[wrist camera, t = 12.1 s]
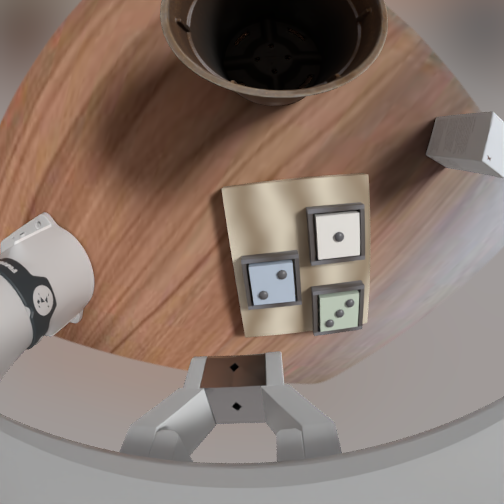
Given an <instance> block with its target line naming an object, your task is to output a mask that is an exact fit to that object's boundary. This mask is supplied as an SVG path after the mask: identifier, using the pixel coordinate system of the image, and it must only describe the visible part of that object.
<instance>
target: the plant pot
mask: <svg viewBox="0 0 504 504" xmlns="http://www.w3.org/2000/svg"><path fill="white" fill-rule="evenodd" d="M160 19H161V25H162V30H163V33H164V36H165V38H166V40H167V42H168V44H169V46H170V48H171V49H172V51H173V52H174V54H175V55H176V56H177V57H178V59H179V60H180V61H181V62H182V63H183V64H184V65H186V66H187V67H188V68H189V69H191V70H192V71H193V72H195V73H196V74H197V75H199V76H201V77H202V78H204V79H206V80H208V81H209V82H211V83H214V84H216V85H218V86H221V87H223V88H226V89H228V90H231V91H234V92H237V93H238V94H239V95H240V96H242V97H244V98H245V99H247V100H249V101H252V102H254V103H257V104H261V105H267V106H279V105H286V104H291V103H294V102H296V101H299V100H301V99H302V98H304V97H305V96H310V95H315V94H319V93H323V92H327V91H330V90H333V89H335V88H338V87H340V86H342V85H344V84H346V83H348V82H350V81H352V80H353V79H355V78H356V77H358V76H359V75H361V74H362V73H363V72H364V71H365V70H367V69H368V67H369V66H370V65H371V64H372V63H373V62H374V61H375V59H376V58H377V57H378V55H379V53H380V52H381V50H382V48H383V45H384V42H385V39H386V36H387V29H388V15H387V9H386V4H385V1H384V0H162V2H161V10H160ZM288 29H293V30H295V31H297V32H298V33H299V34H301V35H302V36H303V37H304V38H305V39H306V40H305V41H304V40H301V39H300V38H299V37H298V36H297V35H295V34H292V33H291V32H289V31H288ZM245 32H249V34H248V35H247V36H245V38H244V39H243V40H242V41H240V42H239V44H238V45H237V46H235V44H234V43H235V42H236V40H237V39H238V38H239V37H240V36H241V35H242V34H243V33H245ZM269 44H273V45H274V47H273V48H270V47H268V45H269ZM286 55H289V56H290V57H291V58H290V59H289V60H288V59H285V56H286ZM256 57H259V58H260V61H258V62H257V61H255V58H256ZM272 69H276V70H277V73H276V74H274V73H272ZM308 75H312V77H313V78H312V80H311V81H310V82H309V84H307V85H306V86H305V87H304V88H303V89H298V88H299V86H300V85H301V84H302V83H303V82H304V81H305V80H306V78H307V77H308ZM239 81H241V82H243V83H244V84H245V85H247V86H248V87H247V86H243V85H240V84H239V83H238V82H239Z"/></svg>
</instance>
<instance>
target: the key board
mask: <svg viewBox="0 0 504 504" xmlns="http://www.w3.org/2000/svg"><path fill="white" fill-rule="evenodd" d="M222 196H223V203H224V209H225V216H226V223H227V229H228V235H229V242H230V248H231V255H232V261H233V267H234V273H235V279H236V285H237V291H238V297H239V303H240V309H241V315H242V321H243V327H244V333H245V337H256V336H268V335H279V334H288V333H298V332H306V331H313V333H314V336H317V335H325V334H332V333H339V332H346V331H352V330H359V329H362V324H363V323H367V317H368V303H369V284H370V196H369V178H368V174H364V173H358V174H342V175H328V176H315V177H304V178H293V179H283V180H273V181H264V182H256V183H248V184H240V185H232V186H225V187H223V188H222ZM346 210H356V211H357V212H359V221H360V255H356V256H347V257H339V258H330V259H321V260H318V258H317V256H316V247H315V231H314V217H313V214H314V213H325V212H335V211H346ZM287 259H292V263H293V275H294V288H295V301H292V302H283V303H273V304H263V305H254V302H253V295H252V288H251V281H250V274H249V264H250V263H259V262H269V261H278V260H287ZM352 290H358V292H359V310H358V327H351V328H345V329H338V330H331V331H323V332H320V328H319V324H318V295H321V294H329V293H337V292H345V291H352Z"/></svg>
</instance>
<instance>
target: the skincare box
mask: <svg viewBox="0 0 504 504" xmlns="http://www.w3.org/2000/svg"><path fill="white" fill-rule="evenodd" d="M426 156H428V157H430V158H431V159H433V160H435V161H436V162H438V163H440V164H441V165H443V166H445V167H446V168H451V169H457V170H463V171H469V172H474V173H480V174H485V175H490V176H495V177H499V178H504V122H503V121H502V120H501V119H500V118H499V117H498V116H497V115H496V114H495V113H494V112H483V113H471V114H460V115H451V116H442V117H436V120H435V124H434V127H433V131H432V135H431V138H430V142H429V145H428V149H427V152H426Z"/></svg>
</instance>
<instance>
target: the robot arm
mask: <svg viewBox="0 0 504 504" xmlns="http://www.w3.org/2000/svg"><path fill="white" fill-rule="evenodd" d="M40 223H41V224H40ZM93 291H94V275H93V270H92V266H91V263H90V260H89V258H88V256H87V254H86V252H85V250H84V249H83V247H82V246H81V244H80V243H79V242H78V240H77V239H76V238H75V237H74V236H73V235H72V234H70V233H69V232H68V231H66V230H64V229H63V228H61V227H60V226H58V225H57V224H56V222H55V221H54V220H53V218H52V217H51V216H50V215H49V214H48V213H46V212H44V213H42V214H40V215H39V216H37V217H36V218H34V219H33V220H31V221H30V222H28V223H27V224H25V225H24V226H22V227H21V228H19V229H18V230H16V231H15V232H14V233H12V234H11V235H9V236H8V237H7V238H5V239H4V240H3V241H2V242H1V254H0V381H1V380H2V378H3V376H4V375H5V374H6V372H7V371H8V370H9V369H10V367H11V366H12V365H13V363H14V362H15V361H16V360H17V359H18V357H19V356H20V355H21V354H22V353H23V352H24V351H25V350H26V349H30V348H32V347H33V346H34V345H36V344H37V343H38V342H39V341H40V340H41V339H42V337H43V336H44V335H45V336H50V337H51V336H53V335H55V334H56V333H57V332H58V331H59V330H61V329H62V328H63V327H64V326H65V325H67V324H68V323H69V322H72V323H78V322H79V321H80V320H81V319H82V315H83V309H84V307H85V306H86V305H87V304H88V302H89V301H90V299H91V297H92V295H93ZM262 422H266V423H267V425H268V426H269V427H270V428H271V430H272V431H273V432H274V433H275V435H276V440H277V462H266V463H200V462H193V461H192V459H191V457H190V455H191V454H192V453H193V451H194V450H195V449H196V448H197V447H198V446H199V445H200V443H201V442H202V441H203V440H204V439H205V438H206V436H207V435H208V434H209V433H210V432H211V431H212V429H213V428H214V427H215V426H216V424H230V423H262ZM0 504H504V397H502V398H500V399H498V400H496V401H495V402H493V403H491V404H489V405H487V406H485V407H483V408H481V409H478V410H476V411H474V412H472V413H470V414H468V415H465V416H463V417H461V418H458V419H456V420H454V421H451V422H449V423H446V424H444V425H441V426H439V427H436V428H433V429H430V430H428V431H425V432H422V433H419V434H416V435H413V436H410V437H406V438H403V439H400V440H396V441H393V442H389V443H386V444H382V445H378V446H374V447H370V448H365V449H361V450H356V451H352V452H346V453H342V452H341V447H340V443H339V438H338V434H337V430H336V425H335V422H334V421H333V420H331V419H330V418H329V417H328V416H327V415H325V414H324V413H323V412H322V411H320V410H319V409H318V408H317V407H316V406H314V405H313V404H312V403H311V402H309V401H308V400H307V399H306V398H305V397H304V396H302V395H301V394H300V393H299V392H298V391H296V390H295V389H294V388H293V387H292V386H291V385H290V384H284V376H283V366H282V355H281V352H280V351H278V352H270V353H264V354H252V355H238V356H208V357H207V356H200V357H193V358H192V360H191V363H190V366H189V370H188V373H187V377H186V380H185V383H184V387H183V388H179V389H178V390H176V391H175V392H174V393H172V394H171V395H170V396H168V397H167V398H166V399H165V400H163V401H162V402H161V403H159V404H158V405H157V406H156V407H154V408H153V409H151V410H150V411H149V412H147V413H146V414H145V415H143V416H142V417H141V418H139V419H138V420H137V421H135V422H134V423H132V424H131V425H130V427H129V430H128V432H127V435H126V437H125V440H124V442H123V445H122V447H121V450H120V452H115V451H110V450H106V449H101V448H97V447H93V446H89V445H85V444H82V443H78V442H74V441H71V440H68V439H64V438H61V437H58V436H55V435H52V434H49V433H46V432H44V431H41V430H38V429H35V428H33V427H30V426H28V425H25V424H22V423H20V422H18V421H16V420H13V419H11V418H8V417H6V416H4V415H2V414H0Z"/></svg>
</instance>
